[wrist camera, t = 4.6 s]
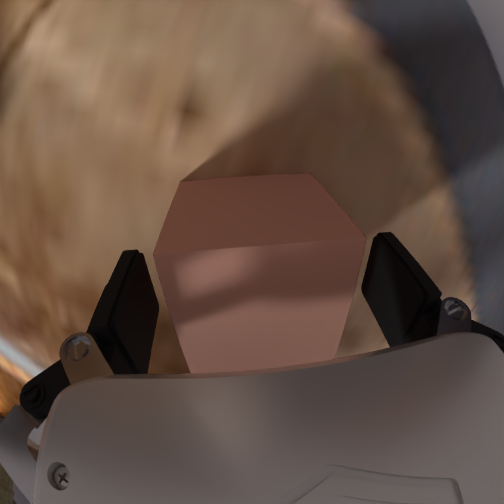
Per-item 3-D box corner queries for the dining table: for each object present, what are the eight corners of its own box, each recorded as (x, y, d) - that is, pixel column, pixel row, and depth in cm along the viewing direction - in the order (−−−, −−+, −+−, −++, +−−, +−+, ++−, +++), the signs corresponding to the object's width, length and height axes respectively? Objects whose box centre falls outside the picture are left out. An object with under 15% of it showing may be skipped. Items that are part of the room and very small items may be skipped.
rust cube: (302, 274, 16) (333, 359, 11) (197, 283, 16) (191, 375, 11) (310, 172, 13) (366, 237, 8) (180, 181, 12) (153, 254, 7)
